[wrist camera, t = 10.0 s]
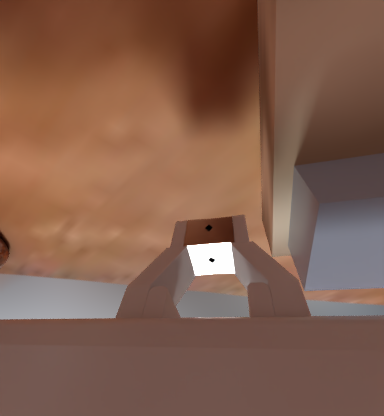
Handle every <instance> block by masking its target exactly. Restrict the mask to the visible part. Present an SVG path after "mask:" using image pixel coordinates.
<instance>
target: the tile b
mask: <svg viewBox="0 0 384 416" xmlns="http://www.w3.org/2000/svg"><path fill="white" fill-rule="evenodd" d="M288 248H289V250H290V253H291V256H292V258H293V261H294V264H295V267H296V269H297V272H298V275H299V277H300V280H301V283H302V286H303V288H304V291H313V290H340V289H367V288H384V153H379V154H373V155H366V156H359V157H352V158H345V159H338V160H331V161H324V162H317V163H310V164H304V165H297V166H294V173H293V186H292V199H291V212H290V225H289V238H288Z"/></svg>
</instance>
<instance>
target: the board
mask: <svg viewBox="0 0 384 416" xmlns="http://www.w3.org/2000/svg"><path fill="white" fill-rule="evenodd" d="M257 5H258V50H259V95H260V140H261V184H262V221H263V225H264V228H265V232H266V236H267V239H268V243H269V247H270V250H271V254H272V257H275V256H290V255H291V253H290V250H289V248H288V238H289V225H290V212H291V199H292V186H293V173H294V166H297V165H304V164H310V163H317V162H324V161H331V160H338V159H345V158H352V157H359V156H366V155H373V154H379V153H384V0H257Z"/></svg>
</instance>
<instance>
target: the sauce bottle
mask: <svg viewBox="0 0 384 416" xmlns="http://www.w3.org/2000/svg"><path fill="white" fill-rule="evenodd" d="M8 257H9V250H8V248H7V246H6V244H5V243H4V242H3V240H1V238H0V268H1V267H2V266H3V265H4V264H5V263H6V261H7V259H8Z"/></svg>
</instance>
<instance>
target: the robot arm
mask: <svg viewBox="0 0 384 416" xmlns="http://www.w3.org/2000/svg"><path fill="white" fill-rule="evenodd" d="M227 273H235V275H236V276H237V278H238V279H239V280H240V282H241V283H242V284H243V286H244V287H245V288H246V289H247V291H248V303H249V315H250V317H209V318H208V317H203V318H202V317H201V318H181V317H180V315H179V313H178V311H177V308H176V305H177V304H178V302H179V301H180V299H181V298H182V296H183V295H184V293H185V292H186V290H187V289H188V287H189V286H190V284H191V283H192V281H193V280H194V278H195V277H196V276H195V275H206V274H227ZM0 416H384V315H383V316H311V314H310V311H309V309H308V306H307V303H306V300H305V297H304V295H303V292H302V289H301V286H300V283H299V281H298V279H297V278H295V277H294V276H293V275H292V274H291V273H289V272H288V271H287V270H286V269H285V268H284V267H282V266H281V265H280V264H279V263H278V262H277V261H275V260H274V259H273V258H272V257H271V256H269V255H268V254H267V253H266V252H265V251H264V250H262V249H261V248H260V247H259V246H258V245H257V244H255V243H254V242H253V241H252V242H249V237H248V232H247V226H246V221H245V216H244V215H236V216H230V217H220V218H211V219H197V220H188V221H187V220H186V221H177V222H176V224H175V229H174V233H173V238H172V242H171V246H170V248H166V249H165V250H164V251H163V252H162V253H161V254H160V255H159V256H158V257H157V258H156V259H155V260H154V261H153V262H152V263H151V264H150V265H149V266H148V267H147V268H146V269H145V270H144V271H143V272H142V273H141V274H140V275H139V276H138V277H137V278H136V279H135V280H133V281H132V282H131V283H130V284H129V285H128V286H127V289H126V291H125V294H124V297H123V299H122V302H121V305H120V307H119V310H118V313H117V315H116V318H112V319H110V318H109V319H19V320H18V319H14V320H13V319H10V320H0Z"/></svg>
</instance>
